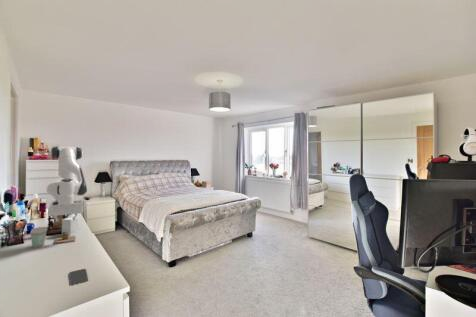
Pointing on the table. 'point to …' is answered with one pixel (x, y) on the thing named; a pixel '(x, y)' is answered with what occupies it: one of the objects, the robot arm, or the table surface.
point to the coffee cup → (38, 236)
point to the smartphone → (78, 276)
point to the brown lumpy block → (55, 225)
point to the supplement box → (70, 226)
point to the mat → (66, 242)
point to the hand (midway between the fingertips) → (65, 220)
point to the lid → (64, 238)
